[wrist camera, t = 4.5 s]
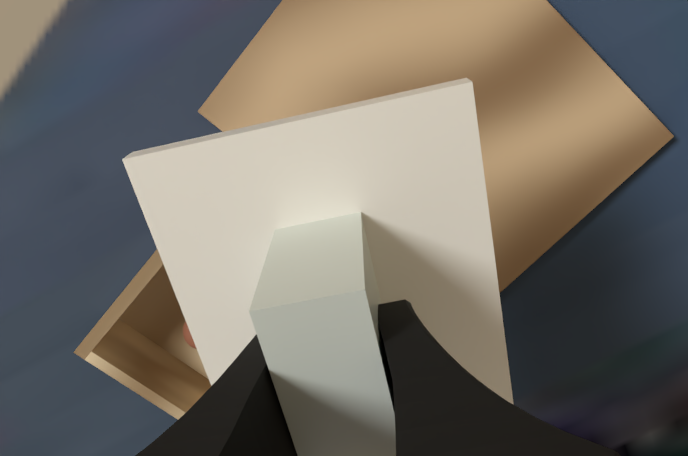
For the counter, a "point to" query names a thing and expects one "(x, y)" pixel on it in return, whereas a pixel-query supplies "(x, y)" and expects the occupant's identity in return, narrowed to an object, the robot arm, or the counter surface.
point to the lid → (332, 252)
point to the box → (149, 343)
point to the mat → (489, 92)
